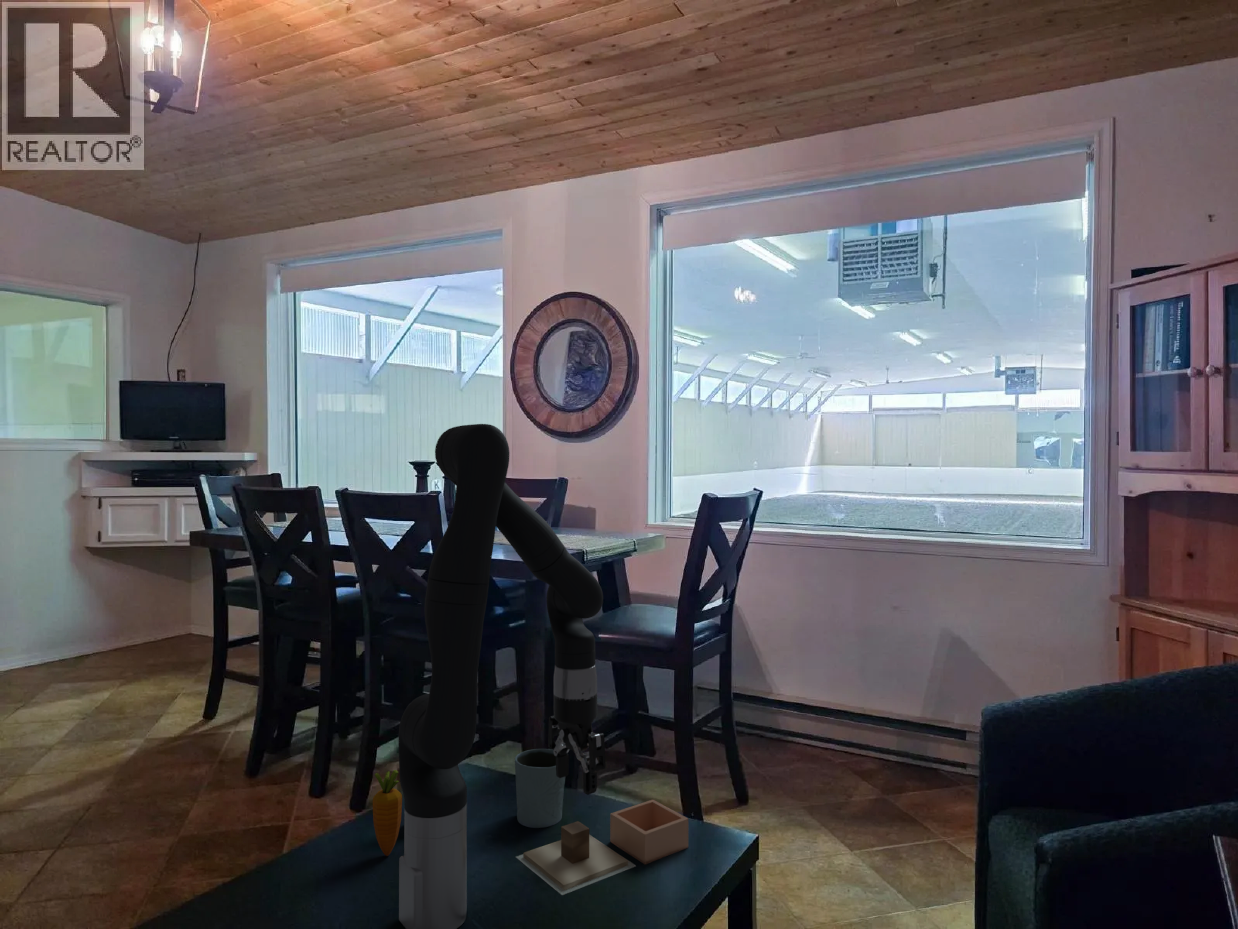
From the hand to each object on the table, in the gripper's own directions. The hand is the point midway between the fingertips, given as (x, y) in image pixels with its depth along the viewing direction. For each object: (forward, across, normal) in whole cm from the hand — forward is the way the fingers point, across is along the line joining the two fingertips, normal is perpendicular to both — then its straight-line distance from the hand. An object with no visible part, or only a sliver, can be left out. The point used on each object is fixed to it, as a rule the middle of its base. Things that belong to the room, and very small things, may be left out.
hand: (575, 784), depth 132 cm
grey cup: (+14, -18, +4) cm, 23 cm away
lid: (+13, 0, 0) cm, 13 cm away
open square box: (+14, +3, +14) cm, 20 cm away
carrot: (+14, -22, -25) cm, 36 cm away
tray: (+14, 0, 0) cm, 14 cm away
